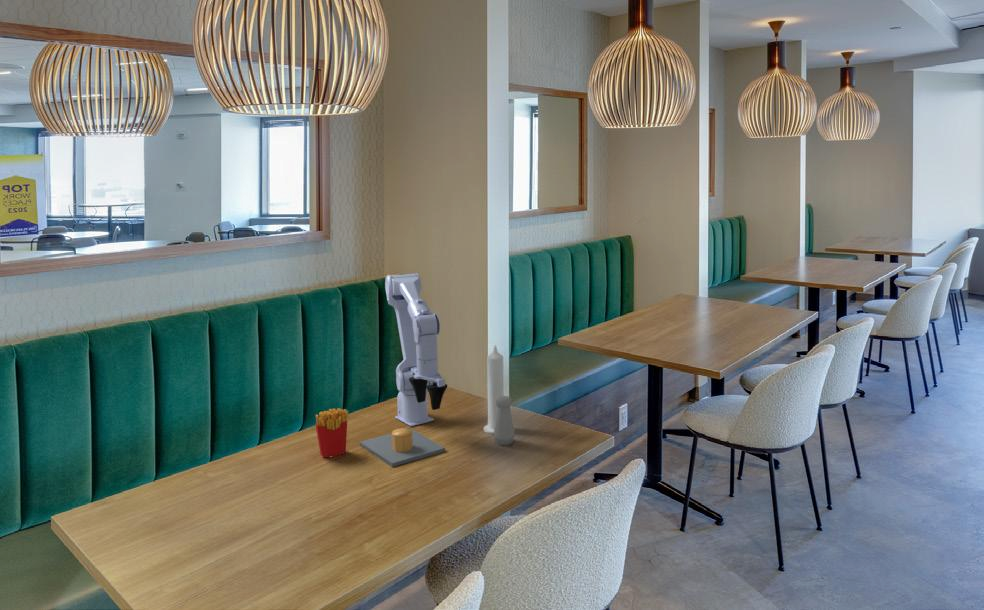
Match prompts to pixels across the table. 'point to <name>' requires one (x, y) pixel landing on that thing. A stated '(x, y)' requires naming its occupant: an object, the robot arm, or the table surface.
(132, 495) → the table surface
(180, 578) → the table surface
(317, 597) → the table surface
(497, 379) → the candle
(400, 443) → the cap
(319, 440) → the french fries
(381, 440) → the board
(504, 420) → the salt shaker
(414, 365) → the robot arm
